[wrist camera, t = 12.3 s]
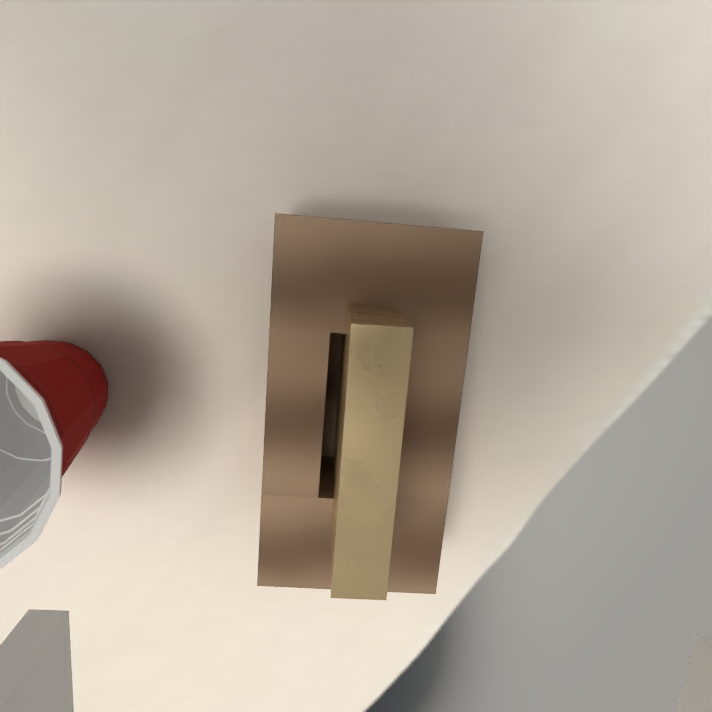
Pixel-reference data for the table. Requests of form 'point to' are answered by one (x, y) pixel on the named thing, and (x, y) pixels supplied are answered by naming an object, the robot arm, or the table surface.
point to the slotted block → (321, 383)
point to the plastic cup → (41, 431)
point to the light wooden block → (368, 448)
